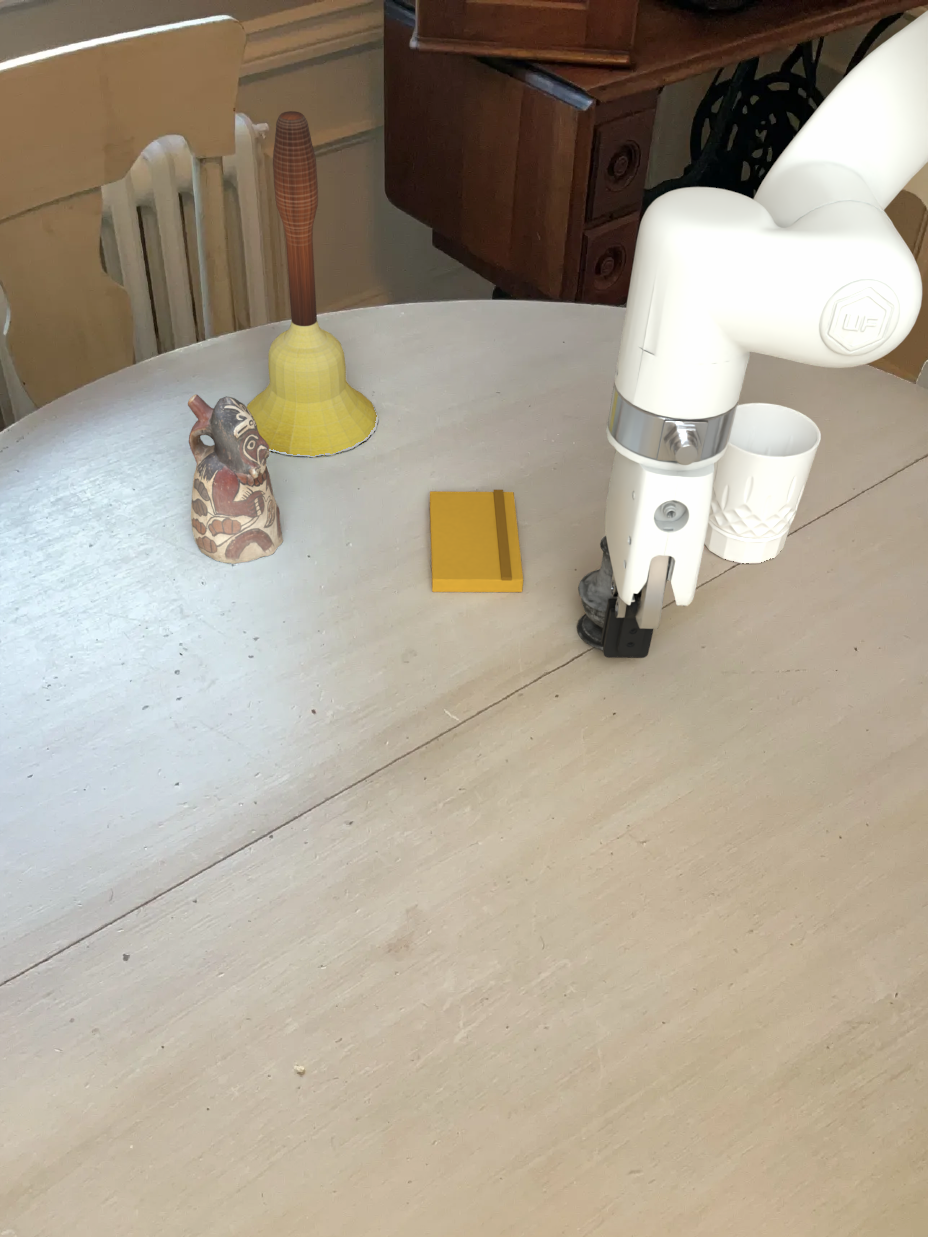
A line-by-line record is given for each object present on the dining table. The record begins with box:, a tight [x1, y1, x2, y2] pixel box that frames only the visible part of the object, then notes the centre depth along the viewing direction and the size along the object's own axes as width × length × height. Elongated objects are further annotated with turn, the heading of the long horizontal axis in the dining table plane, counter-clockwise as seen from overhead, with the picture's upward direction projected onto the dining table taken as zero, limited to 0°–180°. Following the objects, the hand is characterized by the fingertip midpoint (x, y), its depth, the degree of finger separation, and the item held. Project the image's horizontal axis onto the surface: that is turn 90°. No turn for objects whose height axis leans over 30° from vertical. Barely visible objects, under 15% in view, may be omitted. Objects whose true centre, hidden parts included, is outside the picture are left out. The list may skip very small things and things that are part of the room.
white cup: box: [704, 402, 822, 564], centre depth 99 cm, size 8×8×10 cm
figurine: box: [187, 394, 284, 565], centre depth 97 cm, size 7×7×12 cm
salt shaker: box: [576, 535, 617, 651], centre depth 91 cm, size 6×6×12 cm
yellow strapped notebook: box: [429, 489, 524, 593], centre depth 101 cm, size 12×7×1 cm, turn 2°
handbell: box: [246, 110, 378, 456], centre depth 104 cm, size 12×12×25 cm
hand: (623, 650), depth 90 cm, fingers closed
